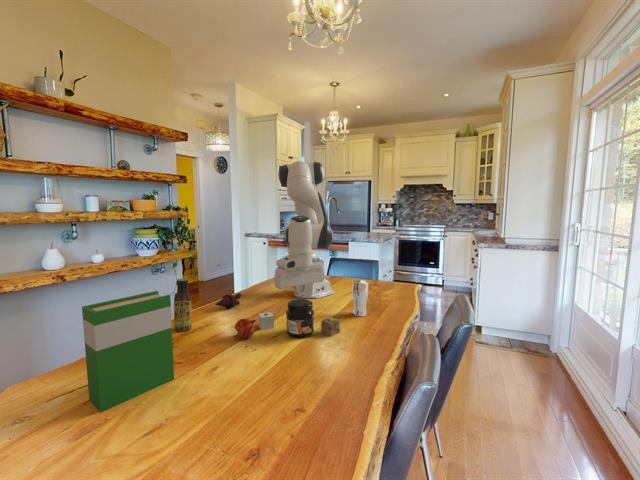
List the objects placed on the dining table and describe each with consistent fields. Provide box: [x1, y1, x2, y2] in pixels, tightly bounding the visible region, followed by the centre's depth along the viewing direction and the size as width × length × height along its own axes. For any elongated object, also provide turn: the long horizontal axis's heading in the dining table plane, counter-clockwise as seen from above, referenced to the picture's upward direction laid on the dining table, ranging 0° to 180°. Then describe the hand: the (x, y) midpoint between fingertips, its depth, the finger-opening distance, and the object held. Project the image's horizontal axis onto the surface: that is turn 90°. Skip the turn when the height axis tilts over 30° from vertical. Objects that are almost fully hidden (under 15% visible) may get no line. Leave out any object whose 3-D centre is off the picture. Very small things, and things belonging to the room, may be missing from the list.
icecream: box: [214, 293, 242, 310], centre depth 146 cm, size 7×7×15 cm
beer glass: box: [351, 279, 369, 318], centre depth 139 cm, size 7×7×15 cm
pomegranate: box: [233, 318, 257, 340], centre depth 114 cm, size 7×7×10 cm
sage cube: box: [257, 311, 275, 331], centre depth 125 cm, size 5×5×5 cm
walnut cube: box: [320, 316, 341, 337], centre depth 119 cm, size 5×5×5 cm
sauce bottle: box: [173, 278, 192, 333], centre depth 120 cm, size 6×6×20 cm
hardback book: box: [81, 290, 175, 413], centre depth 81 cm, size 18×7×24 cm, turn 143°
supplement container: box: [285, 298, 315, 339], centre depth 118 cm, size 10×10×12 cm
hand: (300, 296), depth 118 cm, fingers closed
